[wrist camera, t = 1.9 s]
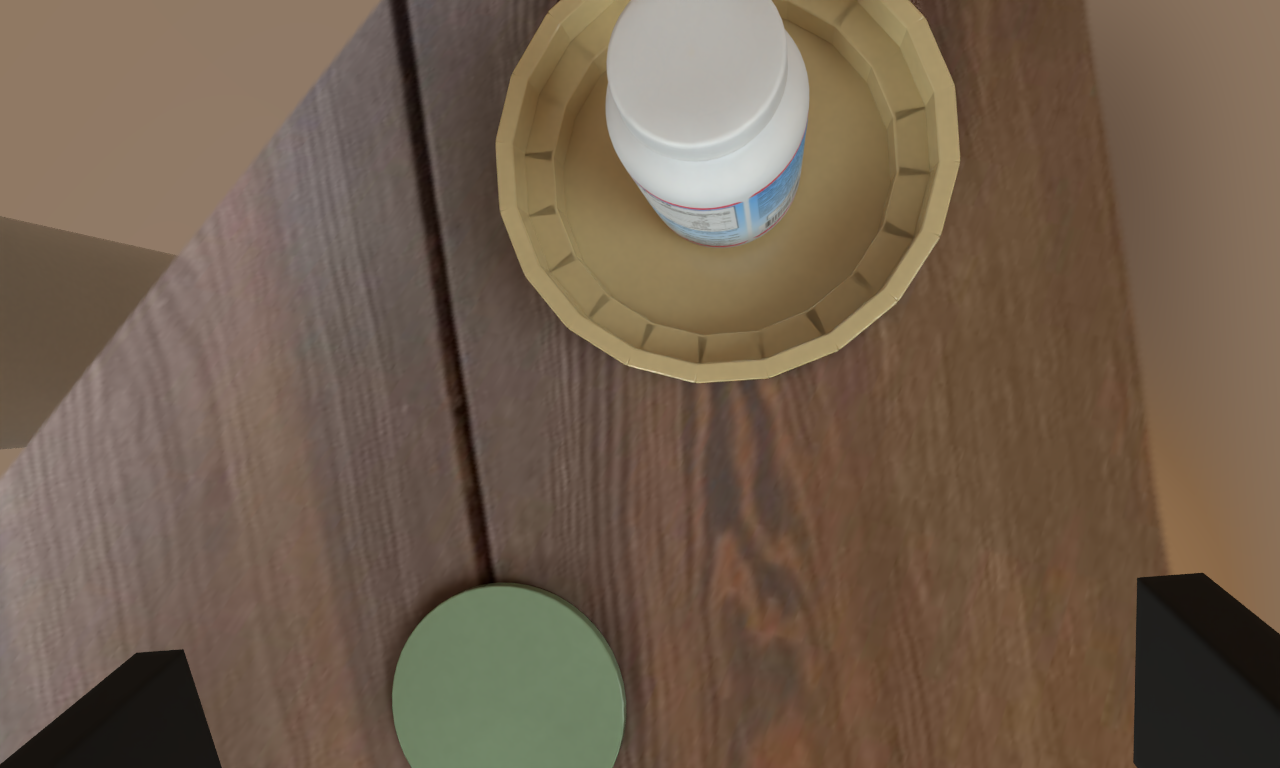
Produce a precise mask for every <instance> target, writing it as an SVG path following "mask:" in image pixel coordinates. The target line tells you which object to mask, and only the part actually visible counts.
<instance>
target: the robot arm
mask: <svg viewBox="0 0 1280 768" xmlns="http://www.w3.org/2000/svg"><path fill="white" fill-rule="evenodd" d="M1133 762H1134V764H1135V765H1136V766H1137V768H1280V634H1279V633H1277V632H1276V631H1275V630H1274V629H1272V628H1271V627H1270V626H1269V625H1267V624H1266V623H1265V622H1264V621H1262V620H1261V619H1260V618H1259V617H1257V616H1256V615H1255V614H1254V613H1252V612H1251V611H1250V610H1248V609H1247V608H1246V607H1245V606H1244V605H1242V604H1241V603H1240V602H1239V601H1238V600H1236V599H1235V598H1234V597H1233V596H1231V595H1230V594H1229V593H1228V592H1226V591H1225V590H1224V589H1223V588H1221V587H1220V586H1219V585H1218V584H1216V583H1215V582H1214V581H1213V580H1211V579H1210V578H1209V577H1208V576H1206V575H1205V574H1204V573H1194V574H1181V575H1168V576H1154V577H1141V578H1137V617H1136V665H1135V713H1134V761H1133ZM0 768H222V767H221V764H220V761H219V758H218V755H217V752H216V749H215V745H214V742H213V739H212V736H211V733H210V730H209V727H208V724H207V721H206V718H205V714H204V711H203V708H202V705H201V702H200V699H199V696H198V693H197V690H196V687H195V683H194V680H193V677H192V674H191V671H190V668H189V665H188V662H187V659H186V656H185V653H184V649H182V650H169V651H155V652H142V653H136V654H134V655H133V656H132V657H131V658H129V659H128V660H127V661H126V662H125V663H123V664H122V665H121V666H120V667H118V668H117V669H116V670H115V671H114V672H112V673H111V674H110V675H109V676H108V677H106V678H105V679H104V680H103V681H101V682H100V683H99V684H98V685H97V686H95V687H94V688H93V689H92V690H90V691H89V692H88V693H87V694H86V695H84V696H83V697H82V698H81V699H79V700H78V701H77V702H76V703H75V704H73V705H72V706H71V707H70V708H68V709H67V710H66V711H65V712H64V713H62V714H61V715H60V716H59V717H58V718H56V719H55V720H54V721H53V722H51V723H50V724H49V725H48V726H47V727H45V728H44V729H43V730H42V731H40V732H39V733H38V734H37V735H36V736H34V737H33V738H32V739H31V740H29V741H28V742H27V743H26V744H25V745H23V746H22V747H21V748H20V749H19V750H17V751H16V752H15V753H14V754H12V755H11V756H10V757H9V758H8V759H6V760H5V761H4V762H3V763H1V764H0Z"/></svg>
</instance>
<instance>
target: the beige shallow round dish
mask: <svg viewBox="0 0 1280 768" xmlns="http://www.w3.org/2000/svg"><path fill="white" fill-rule="evenodd" d="M630 1H631V0H560V1H559V2H558V3H557V4H556V5H555V6H553V7H552V8H551V9H550V10H549V11H548V13H547V14H546V16H545V18H544V19H543V21H542V23H541V25H540V26H539V28H538V30H537V31H536V33H535V35H534V37H533V38H532V40H531V42H530V43H529V45H528V47H527V49H526V50H525V52H524V54H523V56H522V57H521V59H520V61H519V62H518V64H517V66H516V68H515V69H514V71H513V73H512V74H513V75H511V78H510V82H509V87H508V91H507V95H506V99H505V103H504V107H503V112H502V116H501V120H500V124H499V128H498V132H497V137H496V144H495V147H496V163H497V179H498V195H499V210H500V211H501V212H500V214H501V217H502V219H503V222H504V224H505V227H506V229H507V232H508V235H509V237H510V240H511V242H512V245H513V248H514V250H515V253H516V255H517V258H518V260H519V263H520V266H521V268H522V271H523V273H524V274H525V277H526V278H527V279H528V281H529V282H530V283H531V284H532V286H533V287H534V288H535V289H536V290H537V292H538V293H539V294H540V295H541V297H542V298H543V299H544V300H545V301H546V303H547V304H548V305H549V306H550V308H551V309H552V310H553V311H554V312H555V314H556V315H557V316H558V317H559V319H560V320H561V321H562V322H563V323H564V325H565V326H566V327H567V328H568V329H569V330H571V331H572V332H574V333H576V334H577V335H579V336H580V337H582V338H583V339H585V340H587V341H588V342H590V343H591V344H593V345H594V346H596V347H598V348H599V349H601V350H602V351H604V352H605V353H607V354H609V355H610V356H612V357H613V358H615V359H616V360H618V361H620V362H621V363H623V364H624V365H627V366H629V367H633V368H637V369H641V370H645V371H649V372H653V373H657V374H661V375H665V376H669V377H673V378H677V379H680V380H684V381H688V382H692V383H718V382H733V381H748V380H763V379H768V378H769V379H770V378H772V377H775V376H778V375H780V374H783V373H785V372H788V371H790V370H793V369H795V368H798V367H800V366H803V365H805V364H808V363H810V362H813V361H815V360H818V359H821V358H823V357H826V356H828V355H831V354H833V353H835V352H837V351H838V350H840V349H841V348H843V347H844V346H845V345H846V344H848V343H849V342H850V341H851V340H852V339H854V338H855V337H856V336H857V335H859V334H860V333H861V332H862V331H864V330H865V329H866V328H867V327H868V326H870V325H871V324H872V323H873V322H875V321H876V320H877V319H878V318H879V317H881V316H882V315H883V314H884V313H886V312H887V311H888V310H889V309H890V308H892V307H893V306H894V305H895V304H897V301H899V300H900V299H901V297H902V296H903V294H904V293H905V291H906V290H907V288H908V287H909V285H910V283H911V282H912V280H913V279H914V277H915V276H916V274H917V273H918V271H919V270H920V268H921V266H922V265H923V263H924V262H925V260H926V259H927V257H928V256H929V254H930V253H931V251H932V249H933V248H934V246H935V245H936V243H937V242H938V240H939V238H940V236H941V234H942V230H943V226H944V223H945V219H946V215H947V211H948V207H949V204H950V200H951V196H952V192H953V188H954V185H955V181H956V177H957V173H958V169H959V166H960V147H959V133H958V119H957V105H956V91H955V86H954V82H953V80H952V78H951V75H950V73H949V71H948V68H947V66H946V64H945V61H944V59H943V57H942V54H941V52H940V50H939V48H938V45H937V43H936V41H935V38H934V36H933V34H932V31H931V29H930V27H929V25H928V22H927V20H926V18H924V16H923V15H922V14H921V13H920V12H919V10H918V9H917V8H916V7H915V6H914V5H913V4H912V3H911V2H910V1H909V0H772V2H773V3H774V5H775V6H776V8H777V10H778V12H779V14H780V17H781V19H782V22H783V25H784V29H785V30H786V31H787V32H788V34H789V35H790V36H791V37H792V39H793V40H794V42H795V44H796V45H797V47H798V49H799V51H800V53H801V56H802V58H803V61H804V64H805V67H806V71H807V75H808V82H809V113H808V123H807V130H806V136H805V144H804V153H803V160H802V168H801V176H800V181H799V185H798V189H797V192H796V195H795V198H794V200H793V202H792V204H791V206H790V207H789V209H788V211H787V212H786V214H785V215H784V217H783V218H782V219H781V220H780V221H779V222H778V223H777V224H776V225H775V226H774V227H773V228H772V229H771V230H770V231H768V232H767V233H766V234H764V235H763V236H761V237H759V238H757V239H756V240H753V241H751V242H749V243H746V244H744V245H740V246H736V247H729V248H710V247H704V246H700V245H697V244H694V243H691V242H689V241H687V240H685V239H684V238H682V237H680V236H679V235H677V234H676V233H675V232H673V231H672V230H671V229H670V228H669V227H668V226H667V225H666V224H665V223H664V222H663V221H662V219H661V218H660V217H659V216H658V214H657V213H656V211H655V210H654V209H653V207H652V206H651V205H650V203H649V202H648V200H647V199H646V197H645V196H644V194H643V193H642V192H641V190H640V189H639V187H638V186H637V184H636V183H635V181H634V180H633V179H632V177H631V176H630V175H629V173H628V172H627V170H626V169H625V167H624V165H623V164H622V162H621V161H620V159H619V157H618V155H617V153H616V151H615V149H614V146H613V144H612V141H611V138H610V135H609V132H608V127H607V121H606V92H607V86H608V78H607V52H608V45H609V41H610V37H611V34H612V31H613V29H614V26H615V24H616V22H617V20H618V18H619V16H620V14H621V13H622V12H623V10H624V9H625V7H626V6H627V4H628V3H629V2H630Z"/></svg>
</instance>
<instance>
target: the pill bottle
mask: <svg viewBox="0 0 1280 768" xmlns="http://www.w3.org/2000/svg"><path fill="white" fill-rule="evenodd" d="M607 78H608V86H607V92H606V121H607V127H608V132H609V135H610V138H611V141H612V144H613V146H614V149H615V151H616V153H617V155H618V157H619V159H620V161H621V162H622V164H623V165H624V167H625V169H626V170H627V172H628V173H629V175H630V176H631V177H632V179H633V180H634V181H635V183H636V184H637V186H638V187H639V189H640V190H641V192H642V193H643V194H644V196H645V197H646V199H647V200H648V202H649V203H650V205H651V206H652V207H653V209H654V210H655V211H656V213H657V214H658V216H659V217H660V218H661V219H662V221H663V222H664V223H665V224H666V225H667V226H668V227H669V228H670V229H671V230H672V231H673V232H675V233H676V234H677V235H679V236H680V237H682V238H684V239H685V240H687V241H689V242H691V243H694V244H697V245H700V246H704V247H710V248H729V247H736V246H740V245H744V244H746V243H749V242H751V241H753V240H756V239H757V238H759V237H761V236H763V235H764V234H766V233H767V232H768V231H770V230H771V229H772V228H773V227H774V226H775V225H776V224H777V223H778V222H779V221H780V220H781V219H782V218H783V217H784V215H785V214H786V212H787V211H788V209H789V207H790V206H791V204H792V202H793V200H794V198H795V195H796V192H797V189H798V185H799V181H800V176H801V168H802V160H803V153H804V144H805V136H806V130H807V123H808V113H809V82H808V75H807V71H806V67H805V64H804V61H803V58H802V56H801V53H800V51H799V49H798V47H797V45H796V44H795V42H794V40H793V39H792V37H791V36H790V35H789V34H788V32H787V31H786V30H785V29H784V25H783V22H782V19H781V17H780V14H779V12H778V10H777V8H776V6H775V5H774V3H773V2H772V0H631V1H630V2H629V3H628V4H627V6H626V7H625V9H624V10H623V12H622V13H621V14H620V16H619V18H618V20H617V22H616V24H615V26H614V29H613V31H612V34H611V37H610V41H609V45H608V52H607Z"/></svg>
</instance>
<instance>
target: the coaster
mask: <svg viewBox="0 0 1280 768" xmlns="http://www.w3.org/2000/svg"><path fill="white" fill-rule="evenodd" d="M392 711H393V718H394V724H395V729H396V732H397V736H398V740H399V742H400V745H401V747H402V750H403V752H404V755H405V757H406V759H407V760H408V762H409V764H410V766H411V768H612V767H613V766H614V763H615V761H616V758H617V755H618V753H619V750H620V748H621V744H622V740H623V736H624V732H625V723H626V696H625V690H624V683H623V680H622V676H621V673H620V669H619V666H618V664H617V661H616V659H615V657H614V654H613V652H612V650H611V649H610V647H609V645H608V644H607V642H606V640H605V638H604V637H603V636H602V634H601V633H600V632H599V630H598V629H597V628H596V626H595V625H594V624H593V623H592V622H591V621H590V620H589V619H588V618H587V617H586V616H585V615H584V614H583V613H582V612H580V611H579V610H578V609H577V608H575V607H574V606H573V605H572V604H570V603H569V602H567V601H565V600H564V599H562V598H560V597H559V596H557V595H555V594H552V593H550V592H548V591H546V590H543V589H540V588H537V587H533V586H530V585H525V584H518V583H491V584H483V585H480V586H476V587H472V588H469V589H466V590H464V591H462V592H459V593H457V594H455V595H453V596H452V597H450V598H448V599H447V600H445V601H443V602H442V603H440V604H439V605H438V606H437V607H435V608H434V609H433V610H432V611H430V612H429V613H428V614H427V615H426V616H425V617H424V618H423V619H422V620H421V621H420V622H419V624H418V625H417V626H416V628H415V629H414V630H413V632H412V633H411V635H410V636H409V638H408V640H407V642H406V643H405V645H404V647H403V649H402V652H401V654H400V657H399V660H398V663H397V666H396V671H395V675H394V680H393V690H392Z"/></svg>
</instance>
